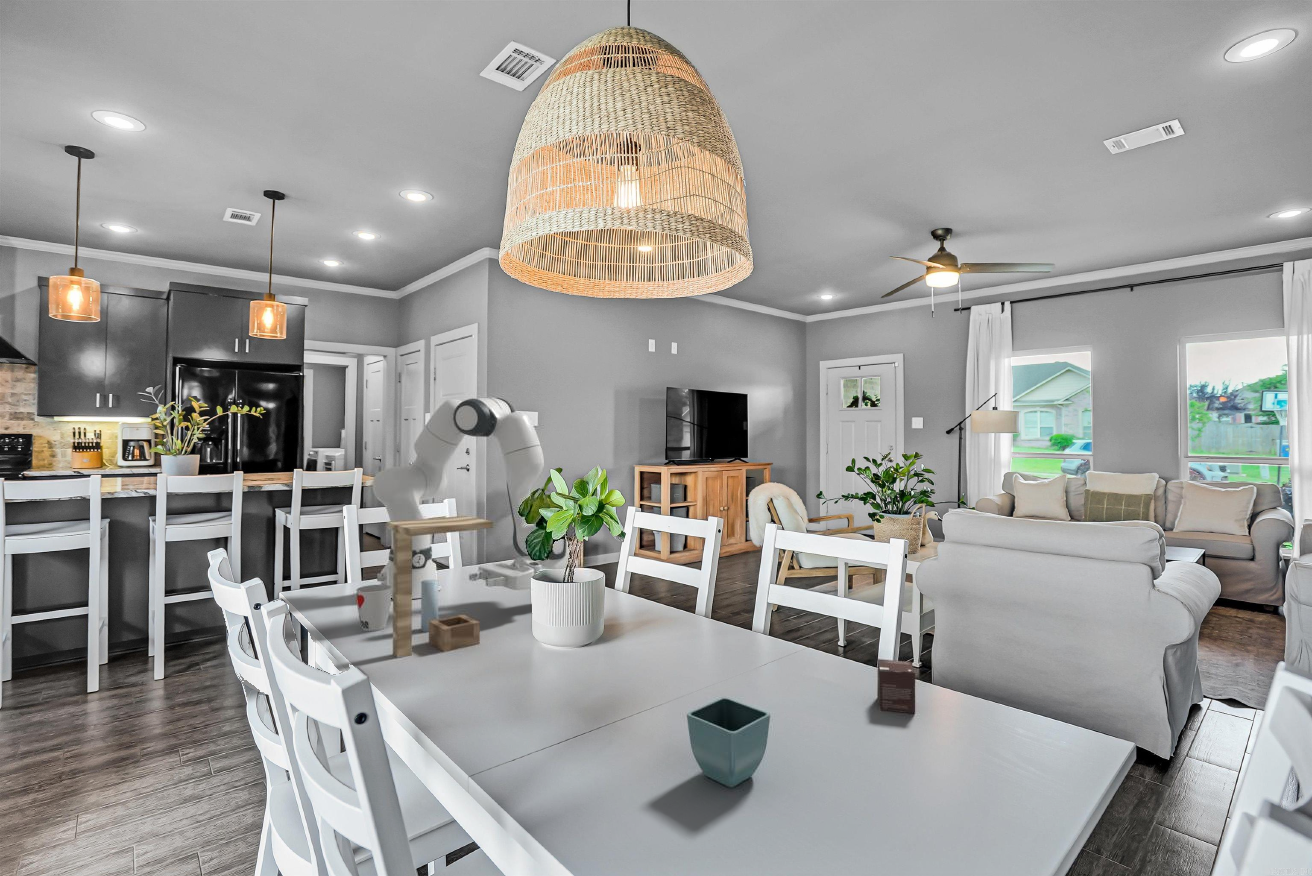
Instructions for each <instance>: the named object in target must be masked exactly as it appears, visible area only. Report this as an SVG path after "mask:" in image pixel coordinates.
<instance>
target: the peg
mask: <svg viewBox="0 0 1312 876" xmlns="http://www.w3.org/2000/svg"><path fill="white" fill-rule="evenodd" d="M438 585H439V580H438V579H437V580H424V581H422V582H421V598H420V599H421V600H420V615H421V616H420V631H421V632H424V633H429V621H432V620H437V619H439V591H438Z"/></svg>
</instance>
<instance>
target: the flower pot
mask: <svg viewBox="0 0 1312 876" xmlns="http://www.w3.org/2000/svg"><path fill="white" fill-rule="evenodd" d="M686 719H687V720H686V721H687V728H688V735H689V741H690V748H691V751H692V755H693V757H694V759H695V761H696V763H697V765H698V766H699V768H700V770H701V772H702V773H703V774H704V775H705V776H706V777H708V778H710V779H712V780H714V781H716V782H717V783H720V784H722V785H724V786H725V787H728V788H734V787H736V786H737V785H739V784H741V783H742V782H743V781H746V780H747V779H749V778H751V777H752V776H753V775H754V774H755V772H756V771H757V770H758V768H759V766H760V764H761V763H762V760H763V758H764V755H765V753H766V749H767V745H768V738H769V728H770V721H771V713H770V712H768V711H764V710H762V709H760V708H757V707H753V706H751V705H748V704H745V703H742V702H740V701H737V700H734V699H732V698H730V697H725V696H724V697H720V698H718V699H716V700H714V701H712V702H709V703H707V704H705V705H703V706H700V707H698V708H696V709H694V710H691V711H689V712H687V713H686Z"/></svg>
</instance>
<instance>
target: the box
mask: <svg viewBox="0 0 1312 876" xmlns="http://www.w3.org/2000/svg"><path fill="white" fill-rule="evenodd" d="M876 691H877V692H876V693H877V694H876V695H877V701H878V705H879V706H880V707H879V710H880V709H881V710H880V711H887V710H889V712H898V713H899V712H900V713H907V712H908V714H916V673H915V669H914V666H913V664H912V661H904V660H892V659H882V658H878V659H877V690H876Z"/></svg>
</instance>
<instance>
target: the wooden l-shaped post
mask: <svg viewBox="0 0 1312 876" xmlns="http://www.w3.org/2000/svg"><path fill="white" fill-rule="evenodd" d="M493 528H494V521H492V520H487V519H482V518H477V517H473V516H468V515H461V516H459V515H458V516H449V517H447V516H446V517H436V518H435V517H434V518H432V517H431V518H428V519H420V520H408V521H396V522H390V521H387V522H386V529H387V530H389V531H391V530H392V531H395V532H393V599H392V655H393V656H394V657H395V658H397V659H400V658H403V657H404V656H405V657H408V656H412V653H413V652H412V651H413V650H412V649H413V646H412V645H413V644H412V643H413V641H412V639H413V636H412V635H413V633H412V631H413V629H412V627H413V623H412V622H413V621H412V617H413V614H412V613H413V612H412V611H413V599H412V536H419V535H429V534H430V535H436V534H437V535H438V534H447V533H457V532H466V531H467V532H469V531H477V530H489V529H493ZM399 657H400V658H399Z"/></svg>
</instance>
